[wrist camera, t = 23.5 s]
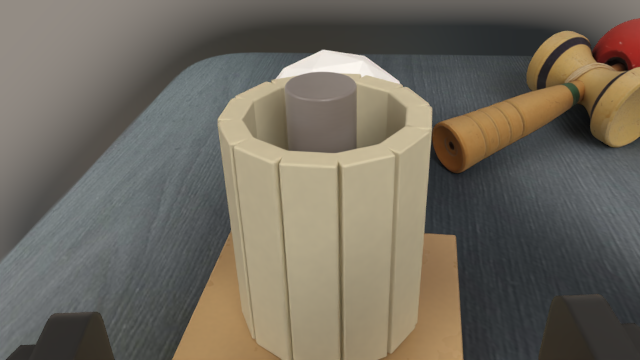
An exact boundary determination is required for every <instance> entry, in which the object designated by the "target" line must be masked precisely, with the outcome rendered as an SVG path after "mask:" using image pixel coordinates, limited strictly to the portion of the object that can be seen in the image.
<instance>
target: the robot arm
mask: <svg viewBox="0 0 640 360" xmlns="http://www.w3.org/2000/svg"><path fill="white" fill-rule="evenodd" d="M6 360H115V359H114V356H113V353H112V349H111V346H110V342H109V339H108V335H107V332H106V328H105V325H104V322H103V319H102V316H101V315H100V313H98V312H79V313H55V314H53V315H51V316H50V318H49V319H48V321H47V323H46V325H45V327H44V329H43V331H42V333H41V335H40V337H39V339H38V341H37V343H36V345H20V346H19V347H18V348H17V349H16V350H15V351H14V352H13V353H12V354H11V355H10V356H9V357H8V358H7V359H6ZM539 360H640V327H639V326H638V325H636V324H635V323H627V324H621V323H620V321H619V320H618V318H617V317H616V315H615V313H614V312H613V310H612V308H611V307H610V305H609V304H608V302H607V301H606V299H605V298H604V297H603V296H601V295H599V294H592V295H566V296H556V297H554V298H553V300H552V303H551V306H550V310H549V315H548V319H547V323H546V327H545V331H544V336H543V340H542V344H541V348H540V353H539Z"/></svg>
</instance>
